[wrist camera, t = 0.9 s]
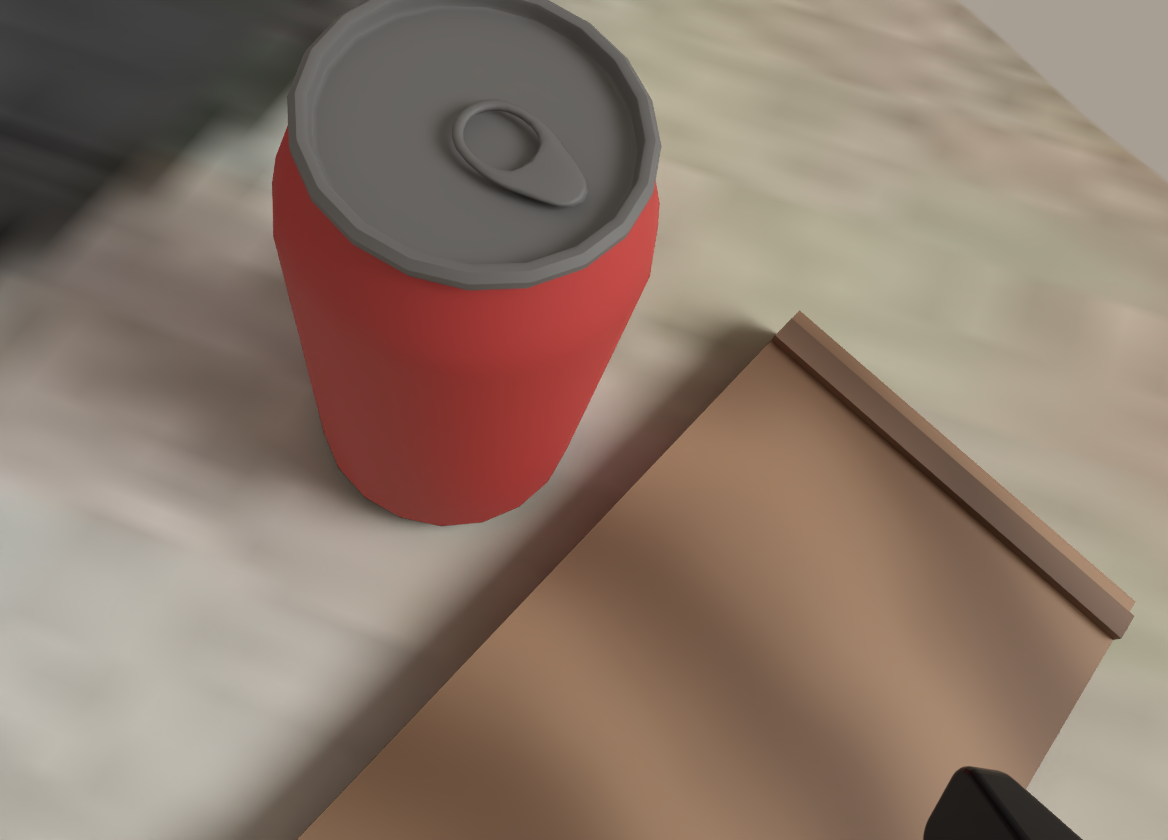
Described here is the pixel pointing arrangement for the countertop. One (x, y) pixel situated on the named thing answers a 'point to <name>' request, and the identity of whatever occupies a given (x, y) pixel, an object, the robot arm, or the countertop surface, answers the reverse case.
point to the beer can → (462, 241)
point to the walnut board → (761, 640)
